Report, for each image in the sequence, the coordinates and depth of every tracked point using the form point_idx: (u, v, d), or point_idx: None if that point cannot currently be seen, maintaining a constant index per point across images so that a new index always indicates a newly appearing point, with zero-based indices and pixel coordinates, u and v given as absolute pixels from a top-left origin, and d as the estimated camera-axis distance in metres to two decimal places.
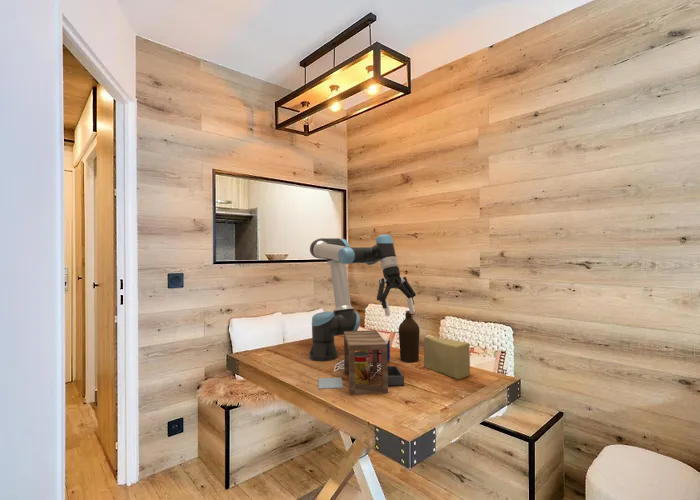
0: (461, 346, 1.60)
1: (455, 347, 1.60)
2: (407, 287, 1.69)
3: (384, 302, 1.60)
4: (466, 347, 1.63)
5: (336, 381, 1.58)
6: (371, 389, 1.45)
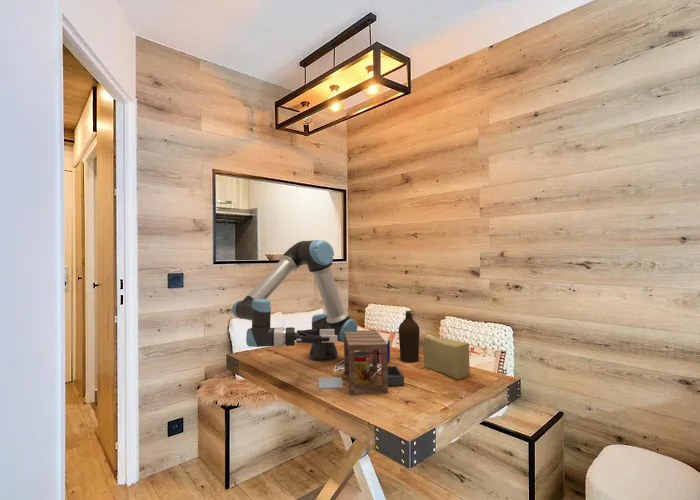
0: (461, 346, 1.61)
1: (454, 347, 1.60)
2: None
3: None
4: (465, 347, 1.63)
5: (336, 381, 1.58)
6: (371, 389, 1.45)
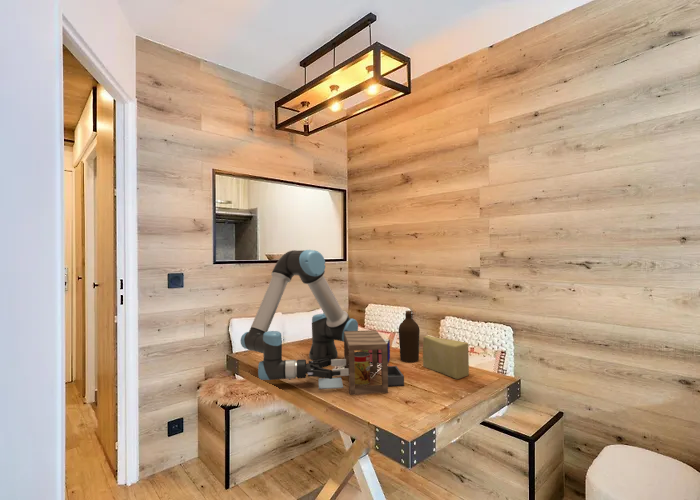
0: (460, 346, 1.61)
1: (454, 347, 1.60)
2: None
3: None
4: (465, 347, 1.63)
5: (336, 381, 1.58)
6: (371, 389, 1.45)
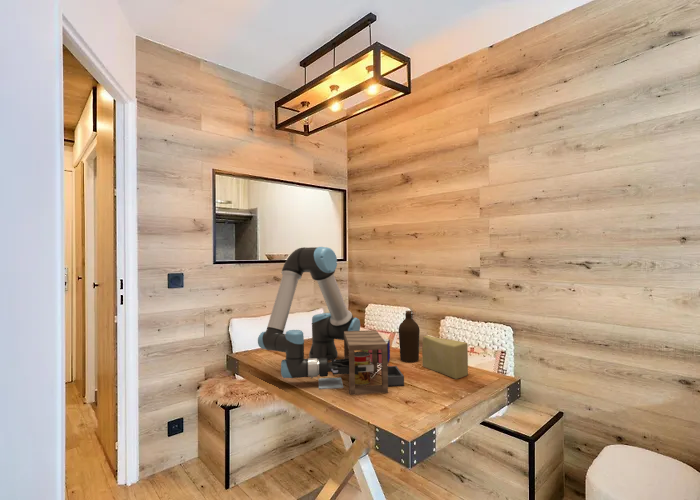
0: (459, 346, 1.61)
1: (453, 347, 1.60)
2: None
3: None
4: (464, 347, 1.63)
5: (336, 381, 1.58)
6: (371, 389, 1.45)
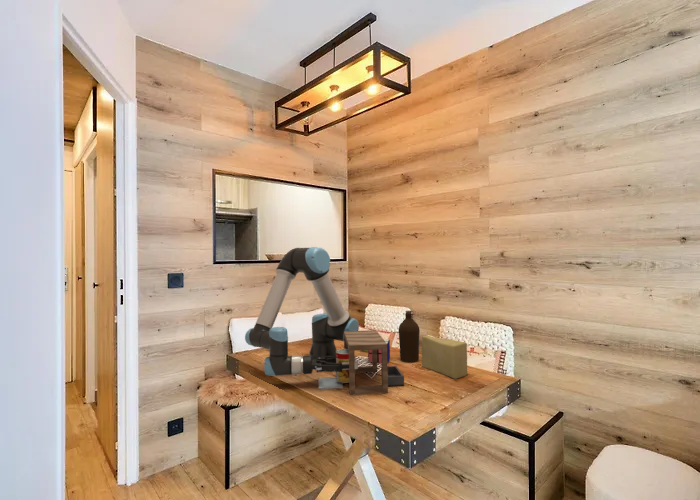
0: (458, 346, 1.61)
1: (452, 347, 1.60)
2: None
3: None
4: (463, 347, 1.63)
5: (336, 381, 1.58)
6: (371, 389, 1.45)
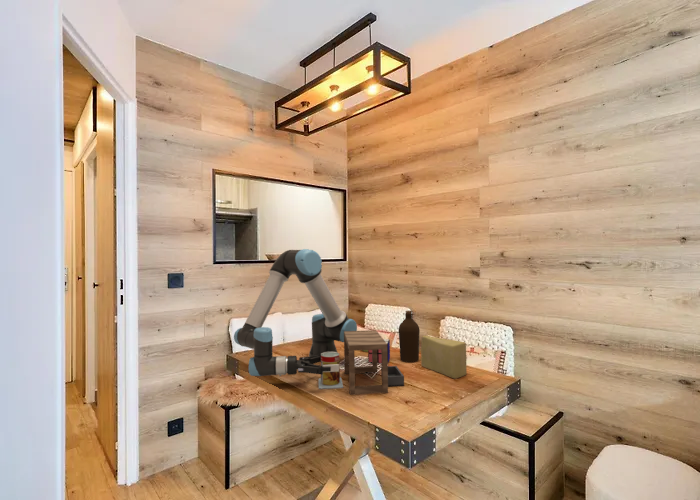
0: (457, 345, 1.61)
1: (451, 346, 1.61)
2: None
3: None
4: (462, 347, 1.64)
5: None
6: (371, 389, 1.45)
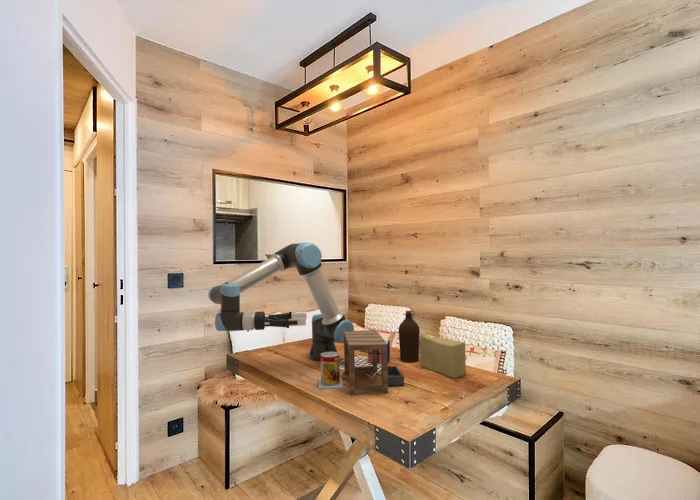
0: (456, 345, 1.62)
1: (450, 346, 1.61)
2: None
3: None
4: (461, 347, 1.64)
5: None
6: (371, 389, 1.45)
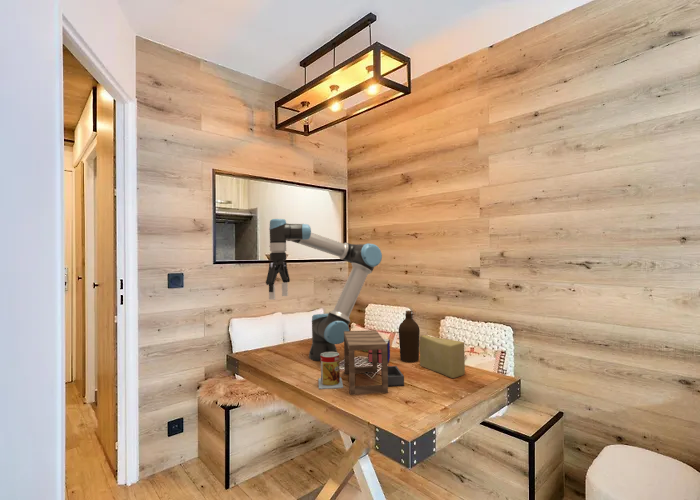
0: (455, 345, 1.62)
1: (449, 346, 1.61)
2: None
3: None
4: (460, 347, 1.64)
5: None
6: (371, 389, 1.45)
